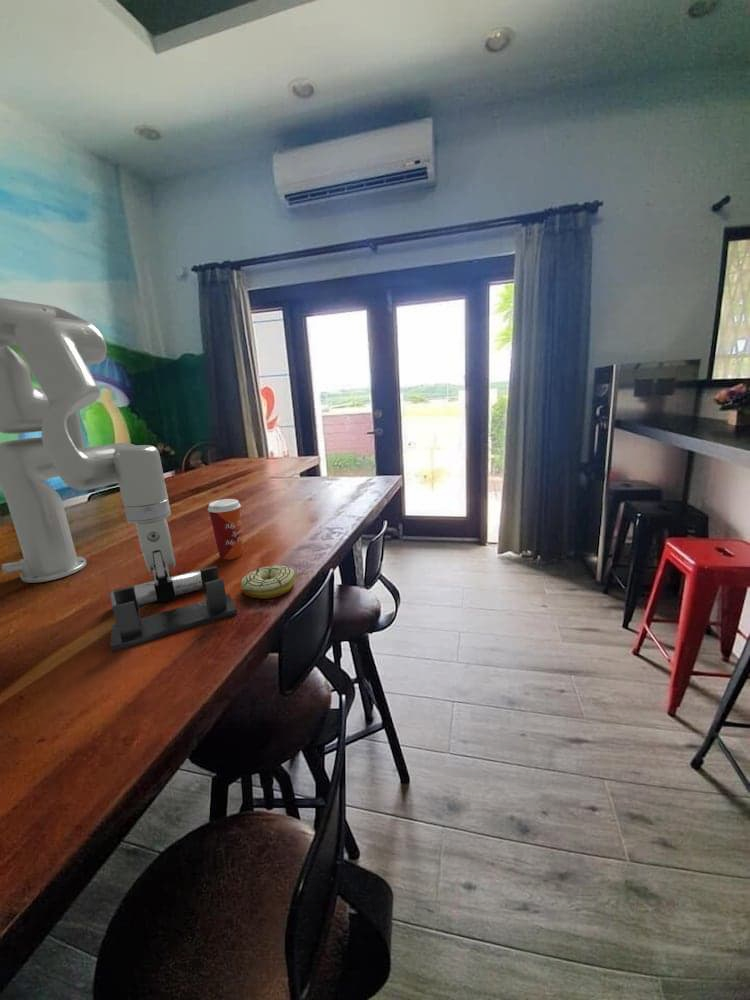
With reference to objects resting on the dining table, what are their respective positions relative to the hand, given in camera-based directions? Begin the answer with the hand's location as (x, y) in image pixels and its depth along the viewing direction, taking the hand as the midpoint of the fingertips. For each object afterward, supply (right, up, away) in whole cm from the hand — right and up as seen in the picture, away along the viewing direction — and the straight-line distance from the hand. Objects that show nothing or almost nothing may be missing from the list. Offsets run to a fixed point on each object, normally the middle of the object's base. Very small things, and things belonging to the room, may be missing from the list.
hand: (165, 594), depth 83 cm
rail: (0, +1, 0) cm, 1 cm away
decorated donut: (+21, +1, +2) cm, 21 cm away
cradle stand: (+7, -3, -9) cm, 12 cm away
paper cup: (+7, +5, +20) cm, 21 cm away
